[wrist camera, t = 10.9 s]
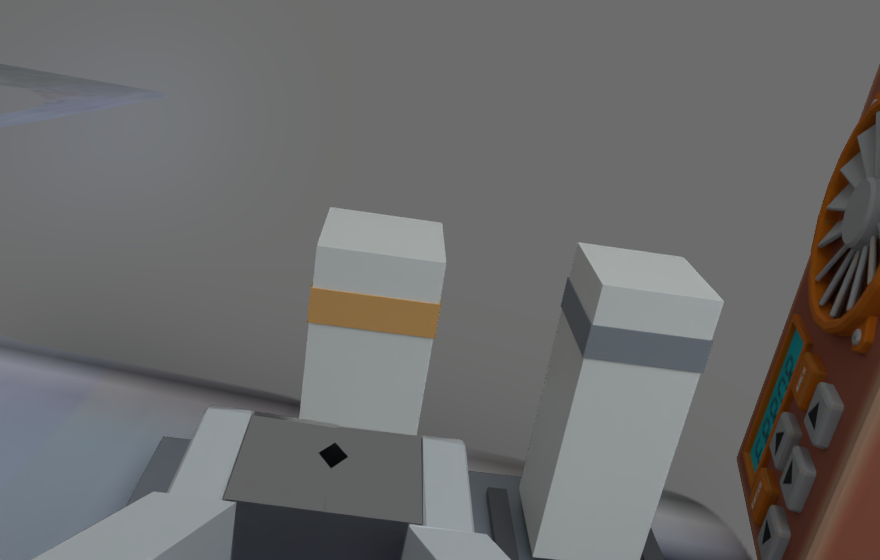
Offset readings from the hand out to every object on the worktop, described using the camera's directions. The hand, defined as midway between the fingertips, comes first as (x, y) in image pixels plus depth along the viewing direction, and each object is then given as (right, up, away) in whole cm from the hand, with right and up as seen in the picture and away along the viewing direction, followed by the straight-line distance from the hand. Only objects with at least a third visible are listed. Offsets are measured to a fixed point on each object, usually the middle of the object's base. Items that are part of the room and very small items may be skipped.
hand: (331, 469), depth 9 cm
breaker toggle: (-2, -6, +20) cm, 21 cm away
